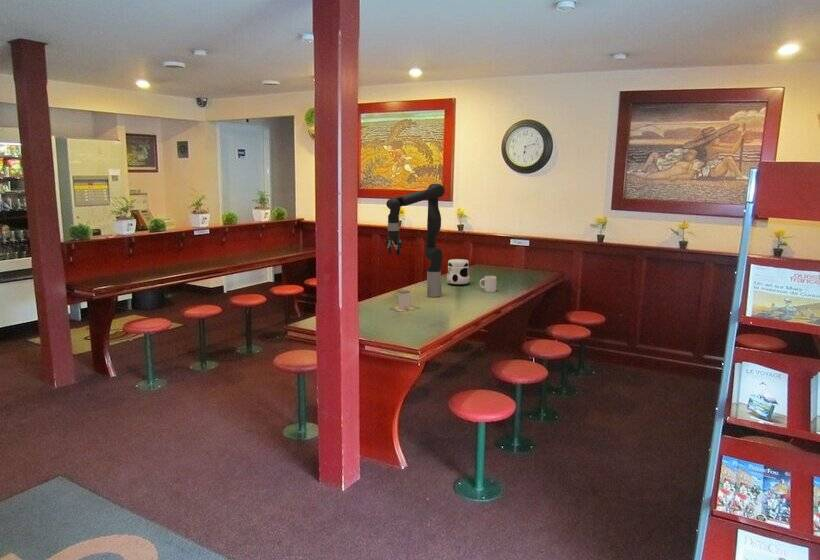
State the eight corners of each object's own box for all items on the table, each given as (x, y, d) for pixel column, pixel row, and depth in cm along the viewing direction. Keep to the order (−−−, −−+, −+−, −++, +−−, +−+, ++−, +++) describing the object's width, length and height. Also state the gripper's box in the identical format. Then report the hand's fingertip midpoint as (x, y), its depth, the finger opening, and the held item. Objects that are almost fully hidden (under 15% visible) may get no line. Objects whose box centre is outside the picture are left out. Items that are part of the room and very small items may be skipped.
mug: (477, 291, 406) (478, 277, 404) (480, 289, 414) (480, 275, 412) (494, 292, 402) (495, 278, 400) (497, 290, 410) (497, 276, 408)
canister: (404, 306, 361) (404, 289, 359) (409, 308, 357) (409, 291, 355) (397, 307, 358) (397, 290, 356) (403, 309, 354) (402, 292, 351)
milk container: (442, 283, 436) (442, 259, 433) (462, 281, 443) (462, 258, 440) (453, 287, 421) (453, 263, 417) (474, 285, 428) (474, 261, 425)
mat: (407, 304, 367) (407, 304, 367) (419, 308, 358) (419, 307, 358) (387, 308, 357) (387, 308, 357) (399, 312, 348) (399, 311, 348)
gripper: (404, 230, 369) (405, 255, 372) (391, 228, 380) (391, 253, 383) (395, 231, 365) (395, 256, 368) (382, 229, 375) (382, 254, 378)
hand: (393, 254), depth 375 cm, fingers open, 8 cm apart
